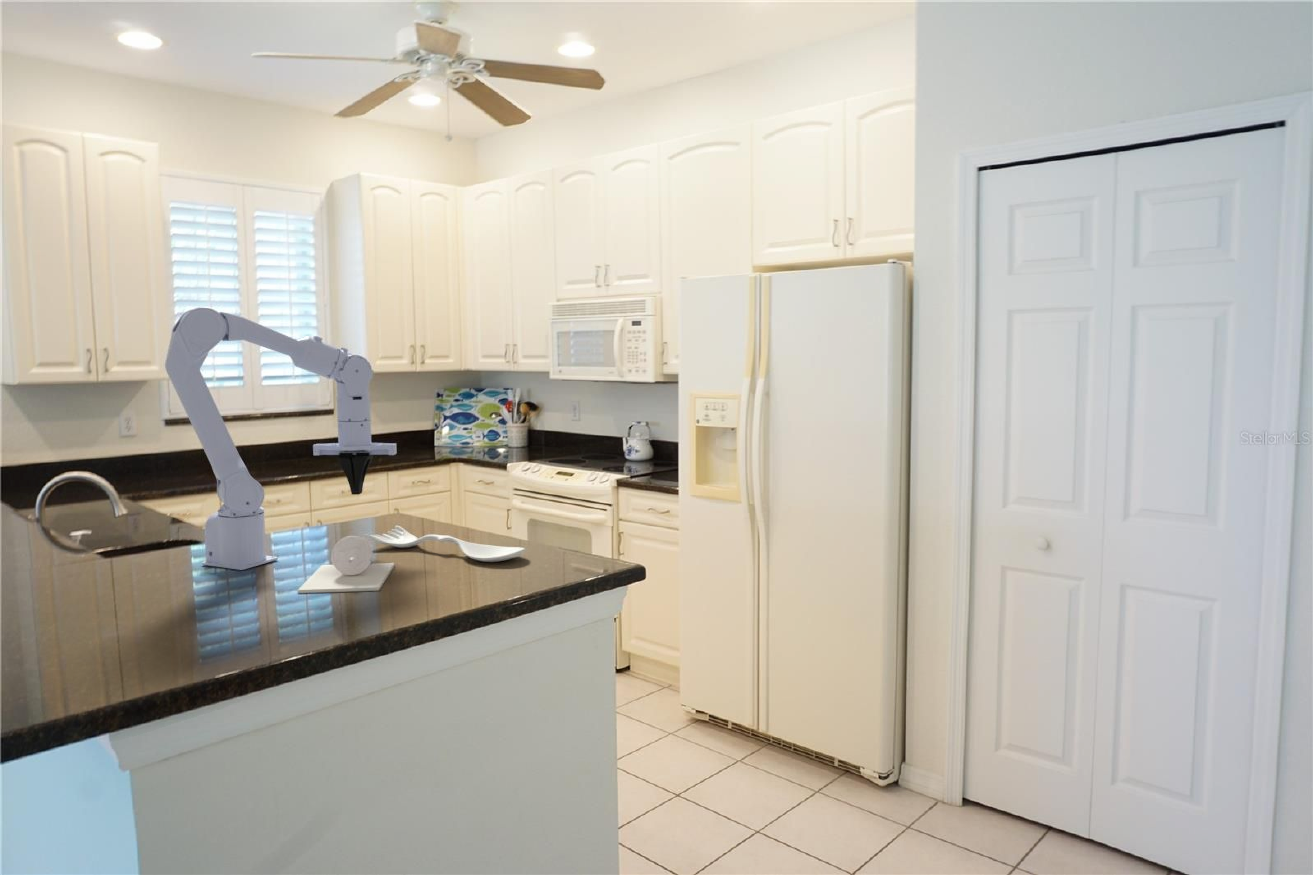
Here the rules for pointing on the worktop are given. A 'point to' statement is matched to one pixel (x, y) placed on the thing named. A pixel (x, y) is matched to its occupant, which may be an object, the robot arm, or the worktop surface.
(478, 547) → the white plastic utensil
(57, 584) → the worktop surface
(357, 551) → the smoothie
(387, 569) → the mat
